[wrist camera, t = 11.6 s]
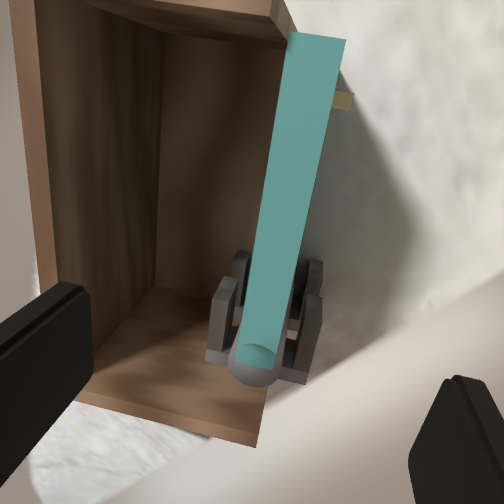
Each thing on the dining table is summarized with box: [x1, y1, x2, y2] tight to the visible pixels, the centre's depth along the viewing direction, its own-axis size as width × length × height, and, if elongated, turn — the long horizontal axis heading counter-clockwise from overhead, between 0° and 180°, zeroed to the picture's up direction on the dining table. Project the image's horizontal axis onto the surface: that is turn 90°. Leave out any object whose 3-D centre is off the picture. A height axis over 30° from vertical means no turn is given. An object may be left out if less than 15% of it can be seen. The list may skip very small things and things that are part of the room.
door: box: [227, 31, 354, 387], centre depth 22 cm, size 3×16×12 cm, turn 171°
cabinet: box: [9, 0, 323, 448], centre depth 22 cm, size 14×21×13 cm
